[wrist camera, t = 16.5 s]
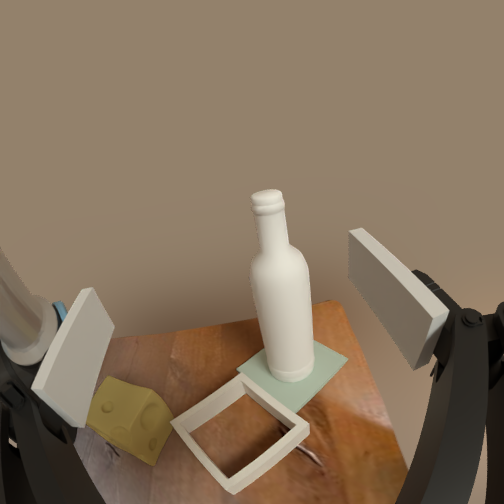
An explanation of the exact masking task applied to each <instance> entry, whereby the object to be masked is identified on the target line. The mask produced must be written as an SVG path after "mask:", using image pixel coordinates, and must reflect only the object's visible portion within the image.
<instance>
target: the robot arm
mask: <svg viewBox="0 0 504 504" xmlns="http://www.w3.org/2000/svg"><path fill="white" fill-rule="evenodd" d="M348 275H349V279H350V280H351V282H352V283H353V284H354V286H355V287H356V288H357V290H358V291H359V292H360V294H361V295H362V296H363V298H364V299H365V301H366V302H367V303H368V305H369V306H370V308H371V309H372V310H373V312H374V313H375V315H376V316H377V317H378V319H379V320H380V322H381V323H382V325H383V326H384V327H385V329H386V330H387V332H388V333H389V335H390V336H391V338H392V339H393V341H394V342H395V344H396V345H397V346H398V348H399V349H400V351H401V352H402V354H403V356H404V357H405V359H406V360H407V362H408V363H409V365H410V366H411V368H412V369H413V371H414V370H416V369H418V368H420V367H422V366H424V365H426V364H428V363H429V361H430V359H431V357H432V355H433V354H434V355H435V356H436V358H437V361H436V363H435V365H434V368H433V370H432V372H431V374H430V376H432V375H433V374H434V377H433V383H432V388H431V394H430V399H429V404H428V408H427V413H426V416H425V421H424V424H423V428H422V432H421V435H420V439H419V442H418V445H417V449H416V452H415V455H414V458H413V461H412V464H411V467H410V469H409V472H408V474H407V477H406V480H405V482H404V484H403V487H402V489H401V492H400V494H399V496H398V498H397V501H396V503H395V504H468V501H469V498H470V495H471V492H472V488H473V485H474V481H475V477H476V474H477V469H478V465H479V461H480V455H481V451H482V445H483V438H484V432H485V424H486V434H487V457H488V458H487V488H486V500H485V504H504V302H502V303H500V304H499V305H498V307H497V310H496V312H495V313H494V314H488V315H483V316H482V315H481V313H479V312H478V311H476V310H474V309H471V308H464V309H461V307H460V306H459V305H457V303H456V302H455V301H453V299H451V297H449V295H448V294H446V292H444V290H442V289H440V287H439V286H438V285H437V284H436V283H434V281H433V280H432V279H431V278H430V277H429V276H428V275H426V274H425V273H422V272H420V271H418V270H414V271H410V270H409V269H408V268H407V267H406V266H404V265H403V264H402V263H401V262H400V261H399V260H398V259H397V258H396V257H395V256H394V255H392V254H391V253H390V252H389V251H388V250H387V249H386V248H385V247H384V246H383V245H381V244H380V243H379V242H378V241H377V240H376V239H374V238H373V237H372V236H371V235H370V234H369V233H367V232H366V231H365V230H364V229H363V228H359V229H355V230H350V231H349V274H348ZM114 328H115V326H114V324H113V323H112V321H111V319H110V317H109V316H108V314H107V312H106V311H105V309H104V307H103V305H102V304H101V302H100V300H99V298H98V296H97V294H96V292H95V290H94V288H93V287H91V288H86V289H82V290H81V292H80V293H79V295H78V297H77V299H76V300H75V302H74V303H73V305H72V307H71V309H70V310H69V312H67V310H66V307H65V305H64V304H63V302H61V301H58V302H54V303H52V305H51V303H49V301H48V300H47V299H45V298H43V297H41V296H38V295H32V294H31V293H30V291H29V290H28V288H27V287H26V286H25V284H24V283H23V282H22V280H21V279H20V277H19V276H18V274H17V273H16V272H15V270H14V269H13V267H12V265H11V264H10V262H9V261H8V259H7V258H6V256H5V254H4V253H3V251H2V250H1V248H0V504H106V503H105V501H104V500H103V498H102V497H101V495H100V493H99V492H98V490H97V489H96V487H95V485H94V483H93V482H92V480H91V478H90V476H89V475H88V473H87V471H86V469H85V467H84V465H83V463H82V461H81V459H80V457H79V455H78V453H77V451H76V449H75V447H74V445H73V443H74V440H75V437H76V432H77V427H79V428H85V424H86V419H87V415H88V411H89V407H90V404H91V400H92V396H93V392H94V389H95V385H96V382H97V379H98V375H99V372H100V369H101V366H102V362H103V359H104V356H105V353H106V350H107V347H108V344H109V342H110V339H111V336H112V333H113V330H114ZM9 438H10V439H12V440H13V441H14V442H15V443H17V448H15V447H14V446H12V445H11V444H10V443H9Z"/></svg>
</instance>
